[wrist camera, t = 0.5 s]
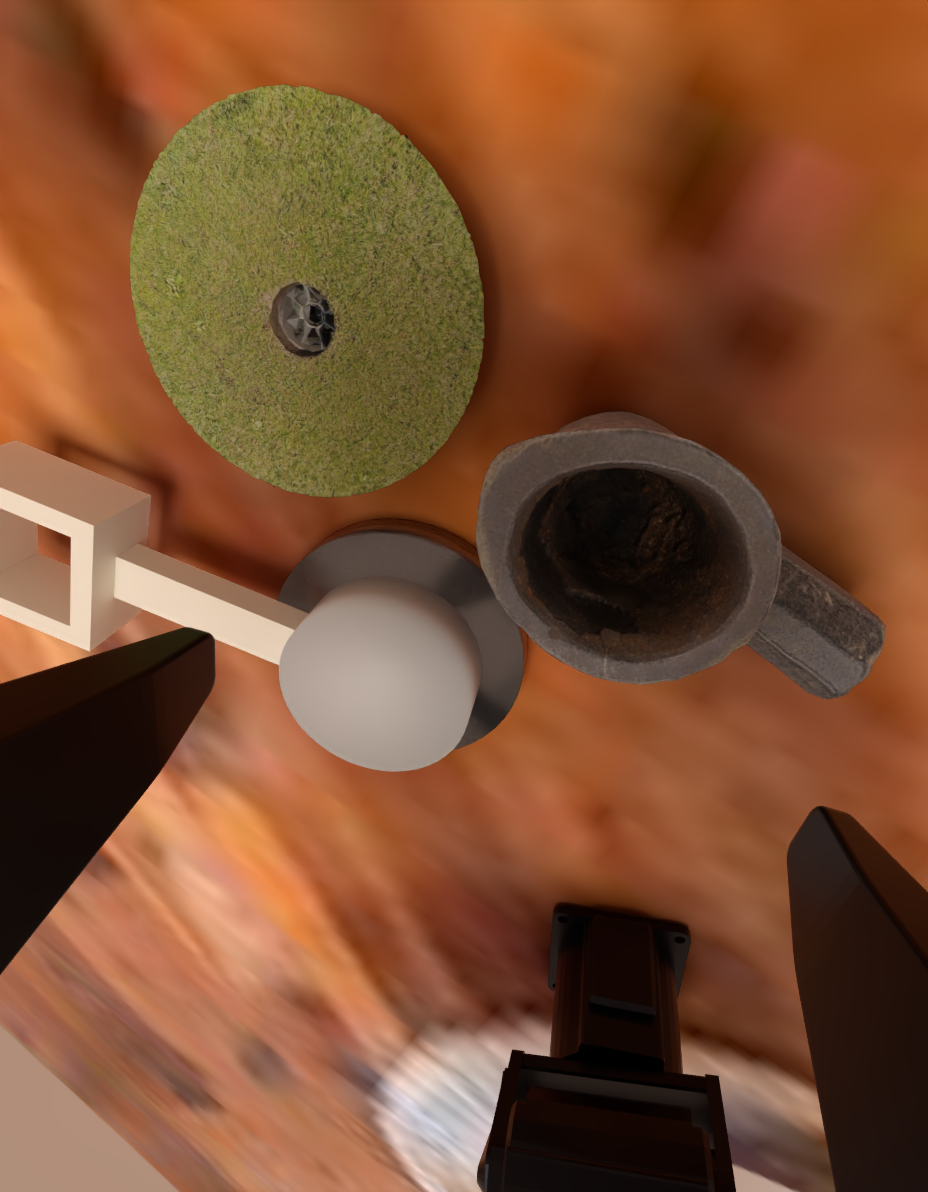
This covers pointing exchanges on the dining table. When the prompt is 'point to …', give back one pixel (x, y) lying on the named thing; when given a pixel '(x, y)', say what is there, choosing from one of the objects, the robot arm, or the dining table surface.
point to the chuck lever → (241, 617)
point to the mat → (307, 291)
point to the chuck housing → (439, 569)
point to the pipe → (658, 561)
